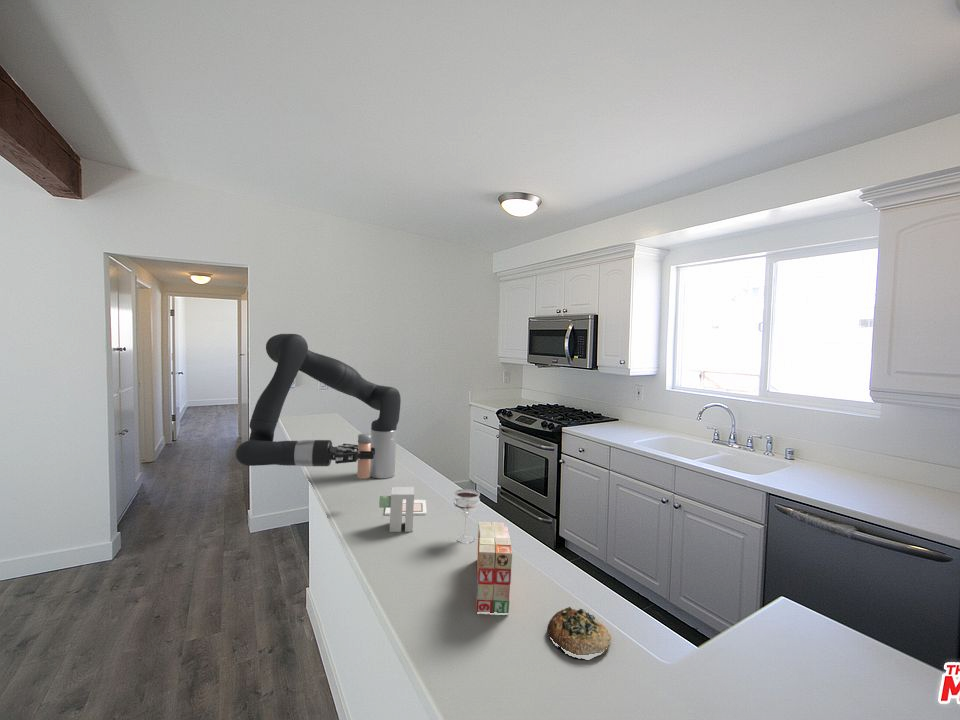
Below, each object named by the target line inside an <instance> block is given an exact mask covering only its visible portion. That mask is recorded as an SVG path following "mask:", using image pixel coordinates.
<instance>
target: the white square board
mask: <svg viewBox="0 0 960 720" xmlns="http://www.w3.org/2000/svg"><path fill="white" fill-rule="evenodd" d="M427 514H428V513H427V502H426V499H414V509H413V516H418V515H419V516H425V515H427ZM384 516H390V508H385V510H384ZM402 516H406V499H403V504H402Z"/></svg>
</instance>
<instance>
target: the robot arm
mask: <svg viewBox="0 0 960 720" xmlns="http://www.w3.org/2000/svg"><path fill="white" fill-rule="evenodd" d="M265 343H266V344H265V351H266V354H267V355H268V357H269V358H270V360H272V362H274V363H276V365H277V366H276V368H275V371H274V373H273V375H272V378H271V380H270V381H269V383H268V384H267V386H266V387H265V389H264V390H263V391H262V393H261V394H260V396H259V397H258V399H257V401H256V403H255V407H254V409H253V412H252V415H251V418H250V421H249V425H248V426H249V429H250V434H249V439H248V440H246V441H244V442H242V443H241V444H240V445H238V447H237V449H236V451H235V457H236V459H237V461H238V462H239V463H240V464H241V465H243V466H246V467H247V466H248V467H253V466H254V467H255V466H271V465H272V466H273V465H275V466H276V465H277V466H287V467H288V466H289V467H291V466H295V467H296V466H300V467H329V466H330V465H331V463H332V461H335V462H334V463H335V464H337V465H338V464H339V465H340V464H347V463H358V460H360V459H370V477H371V478H373V479H390V478H393V477H395V475H396V474H395V473H396V454H397V452H396V451H397V449H396V448H397V447H396V446H397V428H398V423H399V421H400V412H401V402H402V401H401V394H400V391H399V390H398V389H397V388H396V387H393V386H387V385H379V384H376V383H373V382H371V381H369V380H366V379H365V378H363V376H362V375H361V374H360V373H359V372H358V371H357V370H356V369H355V368H354V367H352V366H350V365H349V364H346V363H345V362H343V361H341V360H338V359H336V358H333V357H331V356H326V355H325V354H324V355H323V354H319V353H317V352H314V351H311V350H310V349H309V346H308V343H307V341H306V338H304V337H303V336H302V335H300V334H297V333H280V334H275V335H273V336H271V337H270V338H268V340H267V342H265ZM299 372H301V373H303V374H306V375H307V376H308V377H310V378H312V379H314V380H315V381H318V382H320V383H322V384H323V385H325V386H327V387H329V388H331V389H333V390H335V391H338V392H340V393H342V394H345V395H347V396H349V397H350V396H351V397H354V398H356V399H358V400H360V402H361V401H362V402H363V403H364V404H366V405H367V406H369V407H370V408H371V409H374V410H375V411H376V410H377V411H379V416H378V418H377V419H374V420H372V422H371V426H370V429H371V430H370V434H371V451H361V453H360V451H358V444H351V443H342V444H339V445H338V446H333V442H332V440H331V439H304V440H303V439H302V440H281V441H279V440H278V441H276V440H275V441H274V439H275V438H274V437H275V430H276V427H277V426H278V421H279V419H280V416H281V413H282V410H283V407H284V404H285V401H286V398H287V396H288V395H289V392H290V389H291V387H292V385H293V383H294V381H295V379H296V377H297V376H298V373H299Z"/></svg>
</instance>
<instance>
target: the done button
mask: <svg viewBox="0 0 960 720" xmlns="http://www.w3.org/2000/svg"><path fill="white" fill-rule="evenodd" d="M378 507H379V508H381V509H383V508H385V509H386V508H391V495H380V496H379V506H378Z"/></svg>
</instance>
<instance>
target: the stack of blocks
mask: <svg viewBox="0 0 960 720" xmlns="http://www.w3.org/2000/svg"><path fill="white" fill-rule="evenodd" d="M476 560H477V562H476V564H477V565H476V581H477V582H476V599H475V600H476V602H475V603H476V604H475V613H476V612H490V613H494V612H497V613H509V612H510V593H511V592H510V591H511V589H510V587H511V582H512V564H513V563H512V562H513V551H512V543H511V537H510V533H509V528H508V525H506V524H505V522H501V521H500V522H499V521H498V522H497V521H478V528H477V559H476Z"/></svg>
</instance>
